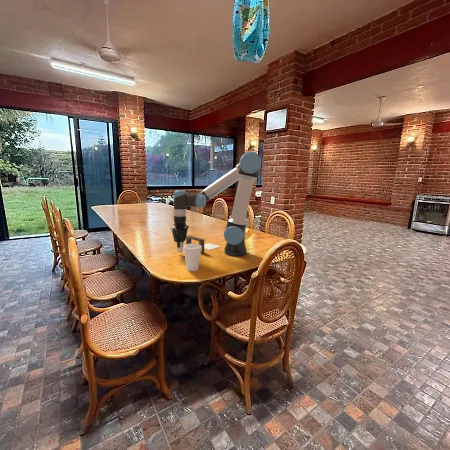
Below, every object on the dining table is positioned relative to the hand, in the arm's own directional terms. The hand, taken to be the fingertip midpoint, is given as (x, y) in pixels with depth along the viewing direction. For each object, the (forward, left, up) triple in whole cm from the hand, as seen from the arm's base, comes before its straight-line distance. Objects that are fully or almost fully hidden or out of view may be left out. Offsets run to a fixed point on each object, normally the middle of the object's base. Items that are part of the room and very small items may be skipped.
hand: (180, 252), depth 155 cm
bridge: (0, -13, -2) cm, 13 cm away
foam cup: (-23, +11, -2) cm, 25 cm away
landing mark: (0, -27, -2) cm, 27 cm away
